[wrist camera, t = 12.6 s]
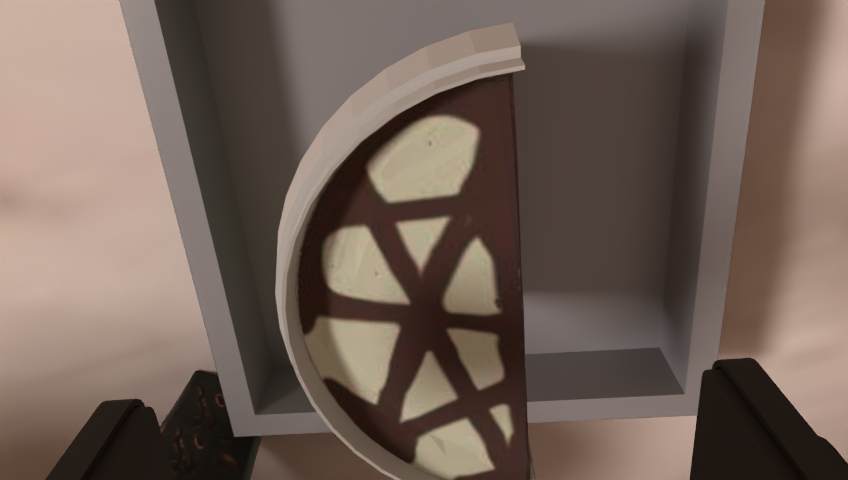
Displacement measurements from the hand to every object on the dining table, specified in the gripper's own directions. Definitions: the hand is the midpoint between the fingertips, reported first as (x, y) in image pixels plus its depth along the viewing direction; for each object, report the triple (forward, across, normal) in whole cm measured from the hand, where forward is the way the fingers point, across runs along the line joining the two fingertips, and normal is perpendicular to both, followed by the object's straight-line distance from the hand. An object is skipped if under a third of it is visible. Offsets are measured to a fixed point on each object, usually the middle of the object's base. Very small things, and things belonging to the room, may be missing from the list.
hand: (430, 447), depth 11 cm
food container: (+14, 0, 0) cm, 14 cm away
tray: (+14, -1, 0) cm, 15 cm away
